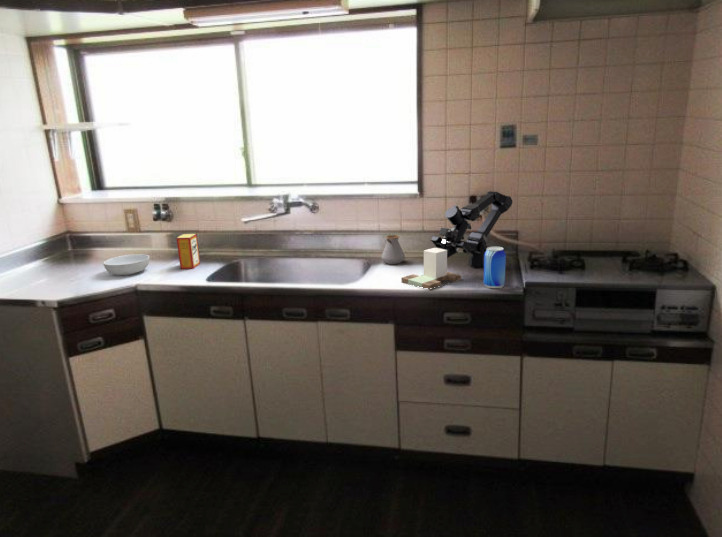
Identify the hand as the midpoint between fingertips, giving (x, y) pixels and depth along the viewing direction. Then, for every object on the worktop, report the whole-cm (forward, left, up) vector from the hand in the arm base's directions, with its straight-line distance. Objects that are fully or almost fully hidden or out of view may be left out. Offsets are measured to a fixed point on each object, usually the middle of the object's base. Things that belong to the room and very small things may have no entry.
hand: (441, 260), depth 229 cm
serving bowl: (+136, -66, -8) cm, 151 cm away
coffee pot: (+13, -29, -8) cm, 33 cm away
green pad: (+11, +5, -8) cm, 14 cm away
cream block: (+3, +2, -6) cm, 7 cm away
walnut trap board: (+6, +3, -8) cm, 10 cm away
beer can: (-15, +19, -8) cm, 26 cm away
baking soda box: (+107, -66, -8) cm, 126 cm away
